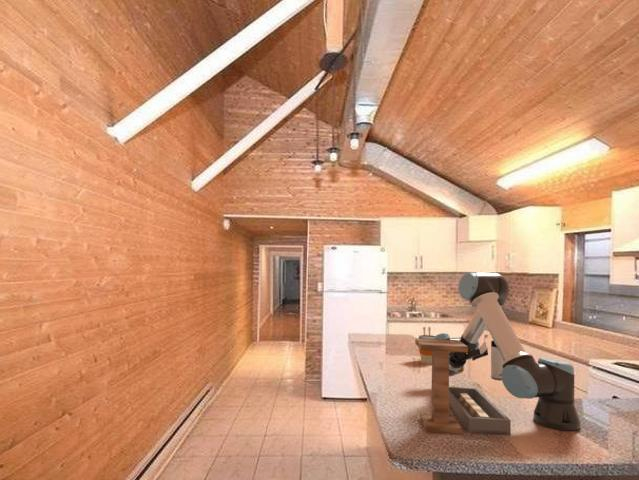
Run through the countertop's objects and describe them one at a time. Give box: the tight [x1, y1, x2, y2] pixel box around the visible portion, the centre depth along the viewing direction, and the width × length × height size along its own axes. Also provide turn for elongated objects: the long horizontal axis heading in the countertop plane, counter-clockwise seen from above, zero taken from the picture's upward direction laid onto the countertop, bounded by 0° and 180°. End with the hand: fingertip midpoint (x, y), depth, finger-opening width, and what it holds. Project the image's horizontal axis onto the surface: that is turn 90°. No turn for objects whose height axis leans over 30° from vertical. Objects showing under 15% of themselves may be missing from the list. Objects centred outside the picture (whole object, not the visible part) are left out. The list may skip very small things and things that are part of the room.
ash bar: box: [459, 393, 489, 418], centre depth 155 cm, size 26×3×3 cm, turn 177°
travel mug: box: [490, 340, 504, 381], centre depth 205 cm, size 6×7×20 cm
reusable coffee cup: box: [418, 334, 436, 365], centre depth 237 cm, size 13×13×15 cm
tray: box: [449, 386, 512, 436], centre depth 154 cm, size 35×14×5 cm, turn 176°
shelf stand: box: [414, 337, 468, 435], centre depth 143 cm, size 12×16×30 cm
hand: (468, 345), depth 162 cm, fingers open, 13 cm apart
